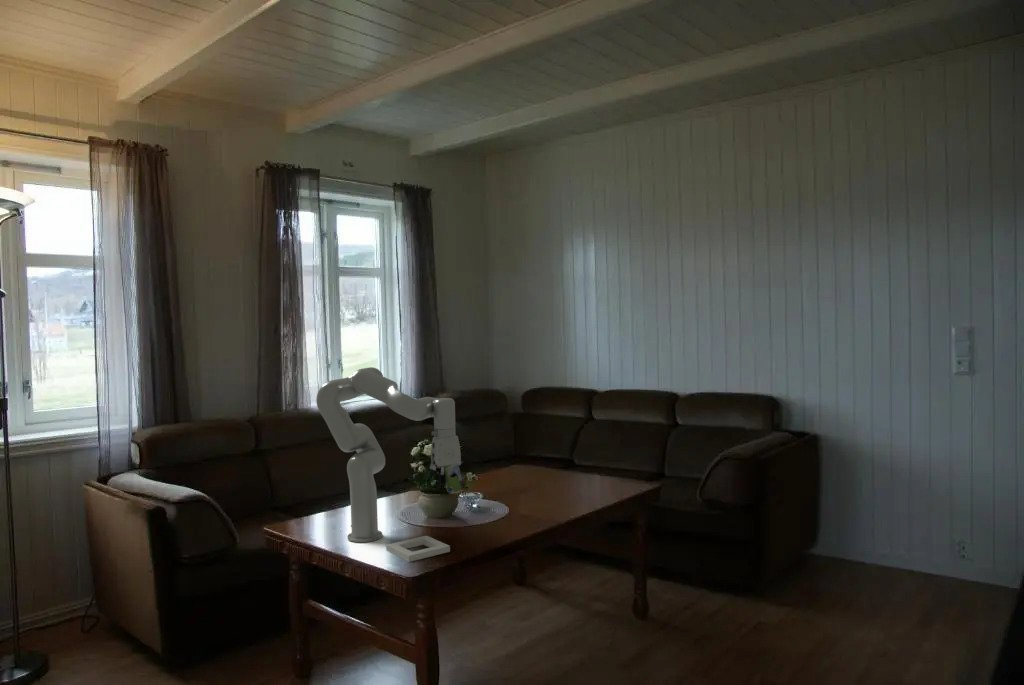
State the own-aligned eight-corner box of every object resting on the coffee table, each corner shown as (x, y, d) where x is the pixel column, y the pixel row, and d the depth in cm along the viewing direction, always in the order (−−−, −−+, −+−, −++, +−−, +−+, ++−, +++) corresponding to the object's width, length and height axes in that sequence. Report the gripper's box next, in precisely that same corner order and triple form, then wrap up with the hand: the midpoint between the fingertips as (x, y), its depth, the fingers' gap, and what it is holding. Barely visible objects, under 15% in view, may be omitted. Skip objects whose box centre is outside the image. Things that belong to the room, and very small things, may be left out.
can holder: (386, 550, 254) (386, 544, 254) (426, 540, 264) (426, 535, 263) (408, 562, 241) (408, 556, 241) (450, 551, 251) (449, 545, 251)
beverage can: (467, 491, 262) (464, 458, 261) (450, 495, 257) (448, 462, 257) (456, 489, 266) (454, 456, 266) (440, 493, 262) (437, 460, 261)
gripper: (430, 436, 252) (432, 489, 252) (469, 431, 261) (470, 482, 262) (419, 434, 258) (421, 486, 258) (458, 429, 267) (459, 479, 268)
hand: (446, 484), depth 260 cm, fingers closed on beverage can
